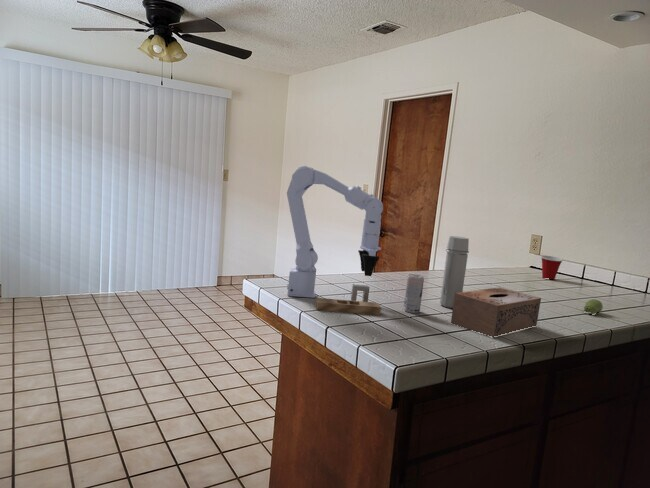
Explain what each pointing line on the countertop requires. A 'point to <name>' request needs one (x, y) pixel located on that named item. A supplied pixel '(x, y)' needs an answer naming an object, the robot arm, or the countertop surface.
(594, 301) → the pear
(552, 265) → the plastic cup
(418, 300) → the energy drink
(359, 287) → the brushed metal block
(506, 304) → the tissue box cover
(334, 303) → the rail
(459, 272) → the water bottle
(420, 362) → the countertop surface
